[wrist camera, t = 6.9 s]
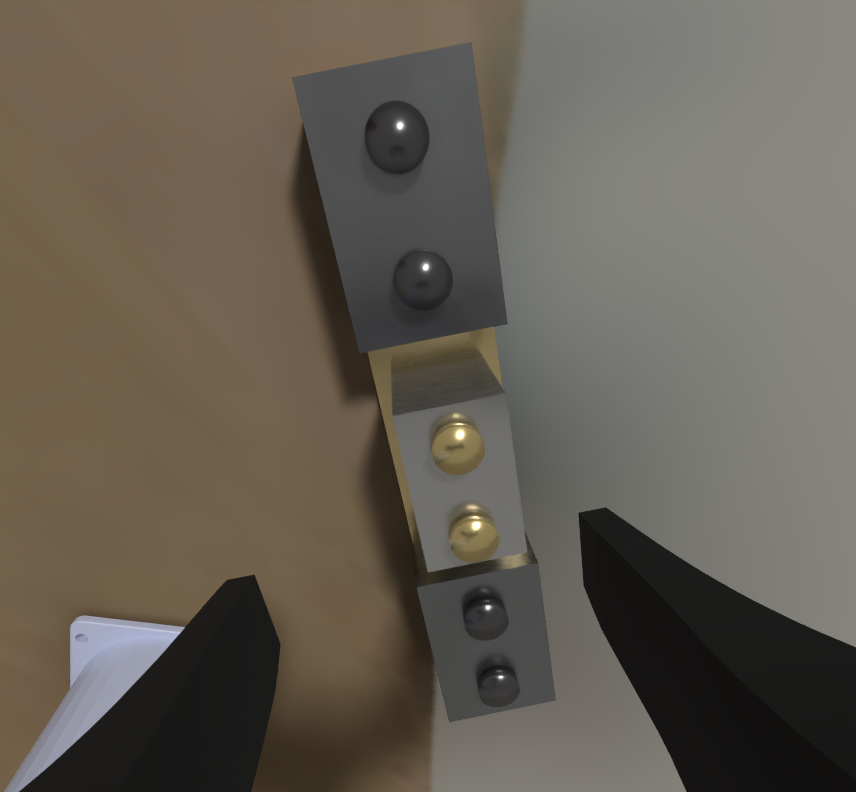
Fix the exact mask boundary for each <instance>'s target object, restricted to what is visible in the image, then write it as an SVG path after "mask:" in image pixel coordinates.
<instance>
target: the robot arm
mask: <svg viewBox="0 0 856 792" xmlns="http://www.w3.org/2000/svg"><path fill="white" fill-rule="evenodd" d="M579 526H580V540H581V555H582V567H583V582H584V588H585V590H586V593H587V595H588V598H589V600H590V603H591V605H592V608H593V610H594V612H595V615H596V617H597V620H598V622H599V624H600V627H601V629H602V631H603V633H604V635H605V636H606V638H607V640H608V642H609V644H610V646H611V647H612V649H613V651H614V653H615V655H616V657H617V658H618V660H619V662H620V664H621V666H622V667H623V669H624V671H625V673H626V675H627V676H628V678H629V680H630V682H631V684H632V685H633V687H634V689H635V691H636V692H637V694H638V696H639V698H640V700H641V702H642V703H643V705H644V707H645V709H646V710H647V712H648V714H649V716H650V718H651V719H652V721H653V723H654V725H655V726H656V729H657V730H658V732H659V734H660V736H661V738H662V740H663V742H664V744H665V746H666V748H667V750H668V752H669V754H670V756H671V758H672V760H673V762H674V765H675V767H676V769H677V771H678V774H679V776H680V778H681V780H682V783H683V785H684V787H685V789H686V791H687V792H856V647H854V646H851V645H849V644H846V643H844V642H842V641H839V640H837V639H834V638H832V637H830V636H828V635H825V634H823V633H820V632H818V631H816V630H814V629H811V628H809V627H807V626H805V625H802V624H800V623H798V622H796V621H794V620H792V619H789V618H787V617H786V616H784V615H782V614H779V613H777V612H775V611H773V610H771V609H769V608H767V607H765V606H763V605H761V604H759V603H757V602H755V601H753V600H751V599H749V598H748V597H746V596H744V595H742V594H740V593H738V592H736V591H735V590H733V589H731V588H729V587H727V586H726V585H724V584H722V583H720V582H719V581H717V580H715V579H714V578H712V577H710V576H709V575H707V574H705V573H703V572H702V571H700V570H698V569H697V568H695V567H693V566H692V565H690V564H689V563H687V562H686V561H684V560H682V559H681V558H679V557H678V556H676V555H674V554H673V553H672V552H670V551H668V550H667V549H665V548H664V547H662V546H661V545H659V544H658V543H656V542H655V541H653V540H652V539H651V538H649V537H648V536H646V535H645V534H643V533H642V532H640V531H639V530H637V529H636V528H635V527H633V526H632V525H630V524H629V523H627V522H626V521H625V520H623V519H622V518H620V517H619V516H617V515H616V514H614V513H613V512H611V511H610V510H609V509H607V508H601V509H596V510H591V511H585V512H580V513H579ZM82 634H83V635H82ZM279 653H280V642H279V639H278V636H277V634H276V631H275V628H274V626H273V623H272V620H271V618H270V615H269V612H268V610H267V607H266V604H265V602H264V599H263V596H262V593H261V591H260V588H259V585H258V583H257V580H256V577H255V575H251V576H245V577H240V578H235V579H230V580H227V581H226V582H225V583H224V584H223V585H222V586H221V587H220V588H219V589H218V590H217V591H216V592H215V594H214V595H213V596H212V597H211V598H210V599H209V600H208V602H207V603H206V604H205V605H204V606H203V607H202V609H201V610H200V611H199V612H198V613H197V614H196V615H195V617H194V618H193V619H192V620H191V621H190V622H189V624H188V625H187V626H186V627H180V626H171V625H162V624H154V623H145V622H137V621H128V620H119V619H111V618H102V617H94V616H79V617H77V618H76V619H75V620H74V621H73V623H72V624H71V627H70V690H69V691H68V693H67V694H66V696H65V698H64V699H63V701H62V702H61V704H60V705H59V707H58V708H57V710H56V712H55V713H54V715H53V716H52V718H51V719H50V721H49V722H48V724H47V726H46V727H45V729H44V730H43V732H42V733H41V735H40V736H39V738H38V740H37V741H36V743H35V744H34V746H33V747H32V749H31V750H30V752H29V754H28V755H27V757H26V758H25V760H24V761H23V763H22V764H21V766H20V768H19V769H18V771H17V772H16V774H15V775H14V777H13V778H12V780H11V782H10V783H9V785H8V786H7V788H6V789H5V791H4V792H251V790H252V786H253V782H254V778H255V774H256V770H257V766H258V762H259V757H260V753H261V749H262V745H263V741H264V737H265V733H266V729H267V724H268V720H269V716H270V712H271V707H272V703H273V699H274V694H275V688H276V680H277V672H278V663H279Z"/></svg>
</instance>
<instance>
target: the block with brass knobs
mask: <svg viewBox="0 0 856 792" xmlns="http://www.w3.org/2000/svg"><path fill="white" fill-rule="evenodd" d="M391 389H392V417H393V421H394V425H395V430H396V434H397V439H398V443H399V447H400V452H401V456H402V461H403V465H404V469H405V474H406V478H407V483H408V487H409V491H410V496H411V500H412V505H413V509H414V513H415V518H416V522H417V527H418V531H419V535H420V540H421V544H422V549H423V553H424V557H425V562H426V566H427V571H428V572H433V571H438V570H443V569H448V568H453V567H458V566H463V565H468V564H473V563H479V562H482V561H487V560H492V559H497V558H502V557H507V556H512V555H517V554H522V553H527V546H526V539H525V531H524V524H523V517H522V509H521V502H520V495H519V487H518V479H517V472H516V464H515V457H514V449H513V442H512V434H511V427H510V420H509V412H508V404H507V397H506V393H505V391H504V390H503V388H502V386H501V385H500V383H499V381H498V380H497V378H496V377H495V375H494V373H493V372H492V370H491V369H490V367H489V365H488V364H487V362H486V360H485V359H484V357H483V356H482V354H481V352H480V351H479V349H473V350H468V351H463V352H458V353H453V354H448V355H443V356H438V357H432V358H427V359H422V360H417V361H412V362H407V363H402V364H397V365H392V366H391Z"/></svg>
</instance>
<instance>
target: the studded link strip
mask: <svg viewBox="0 0 856 792" xmlns="http://www.w3.org/2000/svg"><path fill="white" fill-rule="evenodd" d="M292 79H293V83H294V87H295V91H296V96H297V100H298V104H299V108H300V112H301V116H302V120H303V124H304V128H305V132H306V137H307V141H308V145H309V149H310V153H311V157H312V161H313V165H314V169H315V173H316V178H317V182H318V186H319V190H320V194H321V198H322V202H323V206H324V210H325V214H326V219H327V223H328V227H329V231H330V235H331V239H332V243H333V247H334V251H335V255H336V260H337V264H338V268H339V272H340V276H341V280H342V284H343V288H344V292H345V296H346V301H347V305H348V309H349V313H350V317H351V321H352V325H353V329H354V333H355V337H356V341H357V346H358V350H359V353H364V352H368V356H369V361H370V365H371V369H372V373H373V377H374V382H375V386H376V390H377V394H378V399H379V403H380V407H381V411H382V415H383V420H384V424H385V428H386V432H387V436H388V441H389V445H390V449H391V453H392V457H393V462H394V466H395V470H396V474H397V478H398V483H399V487H400V491H401V495H402V500H403V504H404V508H405V512H406V516H407V521H408V525H409V529H410V533H411V537H412V542H413V550H414V562H415V575H416V587H417V592H418V596H419V600H420V604H421V608H422V612H423V616H424V620H425V624H426V628H427V633H428V637H429V641H430V645H431V649H432V653H433V657H434V661H435V665H436V669H437V673H438V678H439V682H440V686H441V690H442V694H443V698H444V702H445V706H446V710H447V714H448V719H449V722H452V721H457V720H462V719H467V718H471V717H476V716H481V715H486V714H491V713H496V712H501V711H506V710H510V709H515V708H520V707H525V706H530V705H535V704H540V703H545V702H550V701H555V691H554V684H553V677H552V668H551V660H550V652H549V644H548V637H547V629H546V621H545V613H544V606H543V598H542V590H541V583H540V574H539V567H538V562H537V559H536V557H535V554H534V552H533V550H532V547H531V545H530V542H529V540H528V538H527V535H526V533H525V539H526V546H527V553H522V554H517V555H512V556H507V557H502V558H497V559H492V560H487V561H482V562H479V563H473V564H468V565H463V566H458V567H453V568H448V569H443V570H438V571H433V572H428V571H427V566H426V562H425V557H424V553H423V549H422V544H421V540H420V535H419V531H418V527H417V522H416V518H415V513H414V509H413V505H412V500H411V496H410V491H409V487H408V483H407V478H406V474H405V469H404V465H403V461H402V456H401V452H400V447H399V443H398V439H397V434H396V430H395V425H394V421H393V417H392V389H391V366H392V365H397V364H402V363H407V362H412V361H417V360H422V359H427V358H432V357H438V356H443V355H448V354H453V353H458V352H463V351H468V350H473V349H479V351H480V352H481V354H482V356H483V357H484V359H485V360H486V362H487V364H488V365H489V367H490V369H491V370H492V372H493V373H494V375H495V377H496V378H497V380H498V381H499V383H500V385H501V386H502V383H501V374H500V368H499V361H498V353H497V345H496V339H495V331H494V327H495V326H500V325H505V324H507V316H506V309H505V301H504V293H503V285H502V277H501V270H500V262H499V254H498V246H497V238H496V230H495V222H494V215H493V207H492V199H491V191H490V183H489V176H488V168H487V160H486V152H485V144H484V136H483V129H482V121H481V113H480V105H479V97H478V90H477V82H476V74H475V66H474V58H473V50H472V43H471V42H470V43H465V44H460V45H454V46H449V47H444V48H439V49H434V50H429V51H424V52H419V53H414V54H409V55H404V56H398V57H393V58H388V59H383V60H378V61H373V62H368V63H363V64H358V65H353V66H348V67H342V68H337V69H332V70H327V71H322V72H317V73H312V74H307V75H302V76H297V77H292Z"/></svg>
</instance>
